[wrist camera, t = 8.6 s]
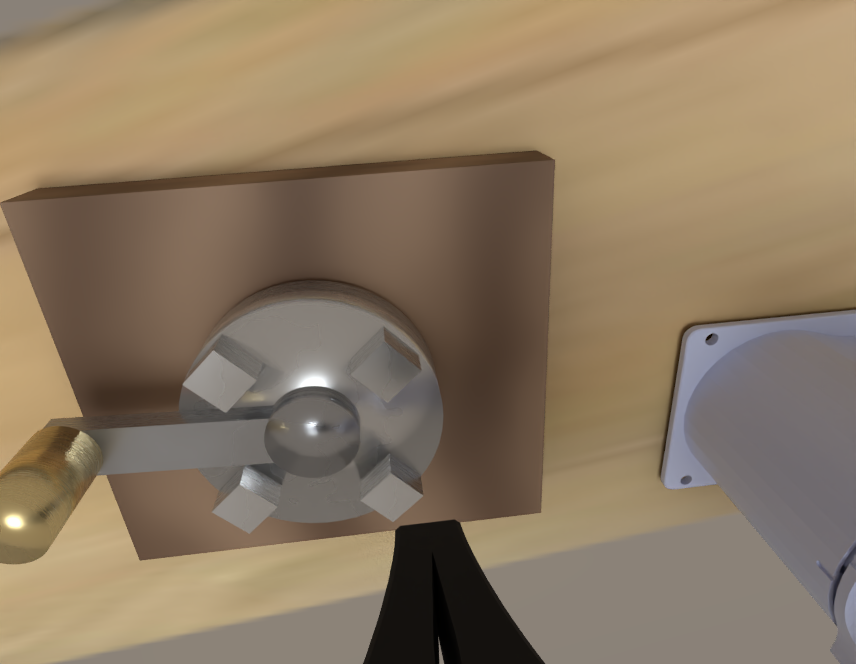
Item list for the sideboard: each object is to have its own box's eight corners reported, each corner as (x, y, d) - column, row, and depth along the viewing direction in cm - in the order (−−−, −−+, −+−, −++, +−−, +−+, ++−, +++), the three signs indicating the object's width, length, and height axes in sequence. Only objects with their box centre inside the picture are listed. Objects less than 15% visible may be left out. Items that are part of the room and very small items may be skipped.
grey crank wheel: (435, 274, 18) (464, 360, 13) (436, 475, 21) (459, 605, 16) (35, 292, 17) (-111, 393, 12) (104, 499, 20) (15, 648, 15)
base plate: (536, 150, 19) (556, 160, 17) (528, 480, 25) (541, 514, 23) (36, 188, 18) (-3, 203, 16) (156, 523, 24) (138, 562, 22)
